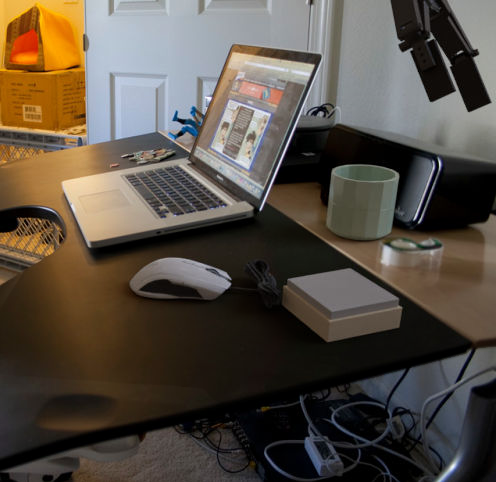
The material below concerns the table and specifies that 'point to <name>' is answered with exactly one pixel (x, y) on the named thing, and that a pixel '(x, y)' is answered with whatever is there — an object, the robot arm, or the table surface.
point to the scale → (341, 304)
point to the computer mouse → (199, 280)
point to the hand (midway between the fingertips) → (462, 102)
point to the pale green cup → (362, 201)
